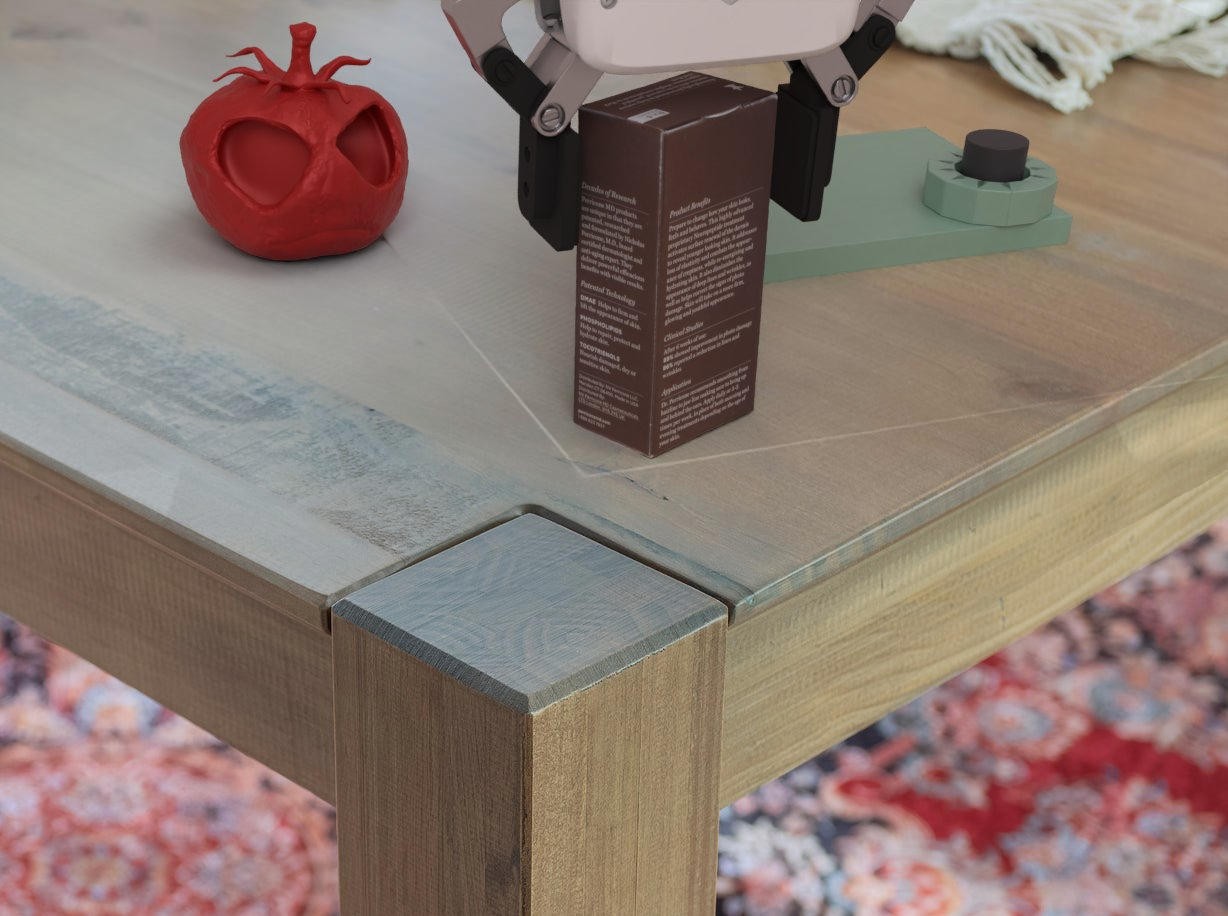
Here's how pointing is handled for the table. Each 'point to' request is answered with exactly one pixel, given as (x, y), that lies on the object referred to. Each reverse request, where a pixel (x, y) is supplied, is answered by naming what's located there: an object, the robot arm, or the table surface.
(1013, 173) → the button
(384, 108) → the tomato with eye holes
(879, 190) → the scale
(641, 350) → the box
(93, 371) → the table surface
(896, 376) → the table surface
